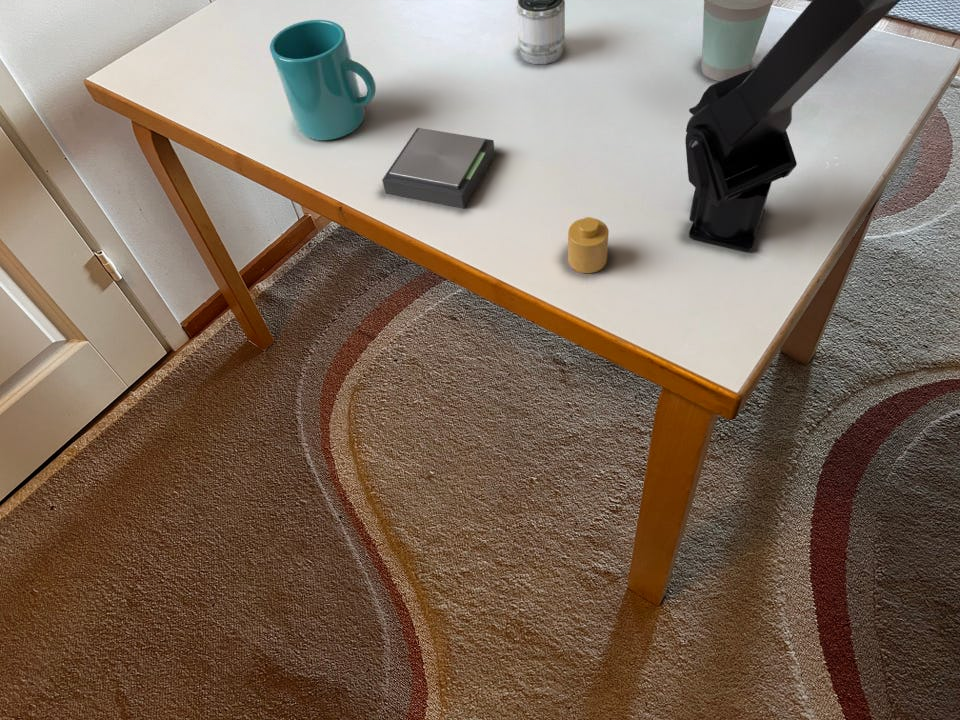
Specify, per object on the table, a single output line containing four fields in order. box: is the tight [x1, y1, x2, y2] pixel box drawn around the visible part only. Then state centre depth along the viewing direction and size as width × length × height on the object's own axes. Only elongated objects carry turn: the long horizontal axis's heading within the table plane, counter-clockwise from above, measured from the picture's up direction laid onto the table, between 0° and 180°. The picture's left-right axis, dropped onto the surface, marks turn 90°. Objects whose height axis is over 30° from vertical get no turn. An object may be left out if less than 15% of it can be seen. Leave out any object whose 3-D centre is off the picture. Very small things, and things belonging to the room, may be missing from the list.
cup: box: [269, 19, 377, 141], centre depth 88 cm, size 9×12×11 cm
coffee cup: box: [700, 0, 774, 82], centre depth 87 cm, size 8×8×12 cm
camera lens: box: [515, 0, 566, 65], centre depth 95 cm, size 6×6×8 cm
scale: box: [381, 127, 496, 209], centre depth 84 cm, size 10×10×3 cm
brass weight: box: [567, 216, 610, 274], centre depth 73 cm, size 4×4×5 cm
